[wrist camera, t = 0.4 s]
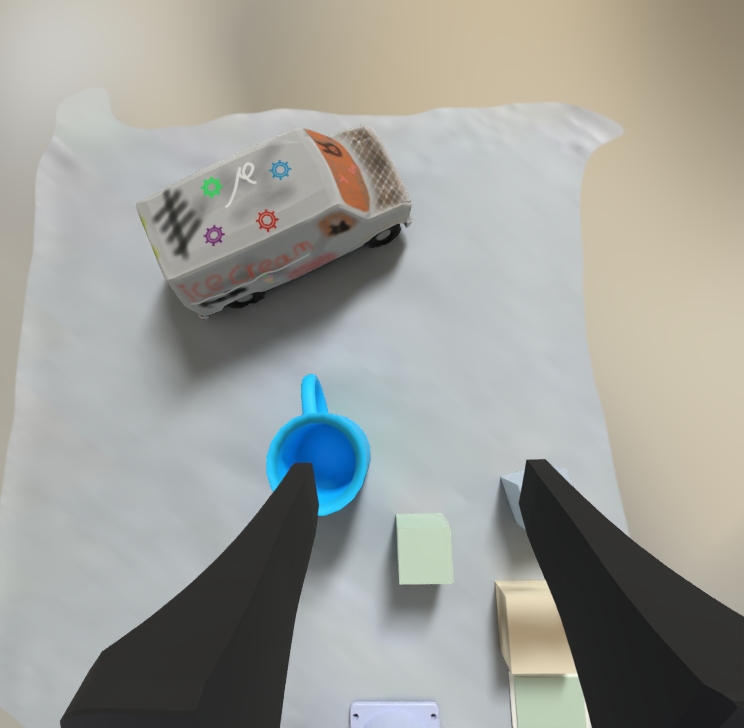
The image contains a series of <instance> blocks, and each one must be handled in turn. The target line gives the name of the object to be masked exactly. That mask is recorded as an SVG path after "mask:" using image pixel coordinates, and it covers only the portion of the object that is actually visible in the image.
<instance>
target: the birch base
mask: <svg viewBox="0 0 744 728" xmlns="http://www.w3.org/2000/svg"><path fill="white" fill-rule="evenodd" d="M495 586H496V600H497V614H498V627H499V641H500V651H501V653H502V655H503V657H504V659H505V661H506V663H507V665H508V667H509V669H510V671H511V673H512V674H570V673H577V671H576V668H575V664H574V661H573V657H572V654H571V651H570V647H569V644H568V641H567V638H566V634H565V631H564V628H563V625H562V621H561V618H560V616H559V613H558V610H557V607H556V605H555V602H554V600H553V597H552V595H551V592H550V590H549V587H548V585H547V583H546V580H529V581H495Z"/></svg>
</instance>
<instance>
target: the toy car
mask: <svg viewBox="0 0 744 728" xmlns="http://www.w3.org/2000/svg"><path fill="white" fill-rule="evenodd" d="M136 208H137V211H138V214H139V216H140V219H141V222H142V224H143V226H144V229H145V231H146V234H147V236H148V238H149V241H150V243H151V246H152V248H153V251H154V254H155V256H156V259H157V261H158V264H159V266H160V269H161V271H162V273H163V276H164V278H165V280H166V282H167V283H168V284H169V286H170V287H171V289H172V290H173V291H174V293H175V294H176V295H177V297H178V298H179V300H180V301H181V302H182V304H183V305H184V306H185V307H186V308H188V309H190V310H192V311H194V312H196V313H197V315H198V316H199V318H200V319H209V317H210V316H206V315H210V314H213V313H216V312H219V311H222V309H223V307H224V306H226V305H227V306H228V307H231V308H241V307H245V306H247V305H248V304H250V303H256V302H258V301H259V300H261V299H263V298H264V291H267V290H269V289H272V288H274V287H276V286H279V285H281V284H284V283H286V282H288V281H291V280H293V279H296V278H298V277H300V276H302V275H304V274H306V273H308V272H310V271H312V270H314V269H316V268H318V267H320V266H322V265H324V264H326V263H328V262H330V261H332V260H334V259H337V258H339V257H341V256H343V255H345V254H347V253H349V252H351V251H353V250H355V249H357V248H359V247H361V246H363V245H364V244H365V243H367V245H368V246H369V247H371V248H375V247H379V246H381V245H385V244H388V243H389V242H391V241H392V240H393V239H394V238H395V237H396V236H397V235H398V234H399V233H400V230H401V227H400V224H399V223H404V225H405V226H406V228H407V227H408V226H409V225H410V224H411V222H412V216H411V213H410V211H411V200H410V198H409V196H408V193H407V191H406V189H405V187H404V184H403V182H402V180H401V178H400V176H399V173H398V171H397V169H396V167H395V165H394V163H393V161H392V160H391V158H390V156H389V154H388V152H387V151H386V149H385V147H384V145H383V144H382V142H381V140H380V139H379V137H378V136H377V134H376V133H375V131H374V129H373V128H372V127H369V126H361V125H360V126H357V127H354V128H352V129H349V130H345V131H342V132H339V133H336V134H333V135H329V136H325V135H323V134H320V133H317V132H314V131H311V130H308V129H305V128H296V129H293V130H291V131H288V132H286V133H283V134H281V135H278V136H276V137H273V138H271V139H269V140H266V141H264V142H261V143H259V144H256V145H254V146H252V147H250V148H248V149H246V150H244V151H241V152H239V153H237V154H235V155H233V156H231V157H228V158H226V159H224V160H222V161H220V162H217V163H215V164H213V165H211V166H209V167H206V168H204V169H202V170H200V171H198V172H196V173H194V174H192V175H190V176H188V177H186V178H184V179H182V180H180V181H178V182H176V183H174V184H171V185H169V186H167V187H165V188H163V189H161V190H159V191H157V192H155V193H153V194H151V195H149V196H147V197H145V198H143V199H142V200H140V201H139V202H137V203H136Z"/></svg>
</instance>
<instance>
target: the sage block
mask: <svg viewBox="0 0 744 728" xmlns="http://www.w3.org/2000/svg"><path fill="white" fill-rule="evenodd" d="M396 531H397V561H398V573H399V584H453V568H452V549H451V531H450V526H449V524H448V523H447V521H446V519H445V518H444V516H443V515H442V513H426V514H396Z"/></svg>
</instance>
